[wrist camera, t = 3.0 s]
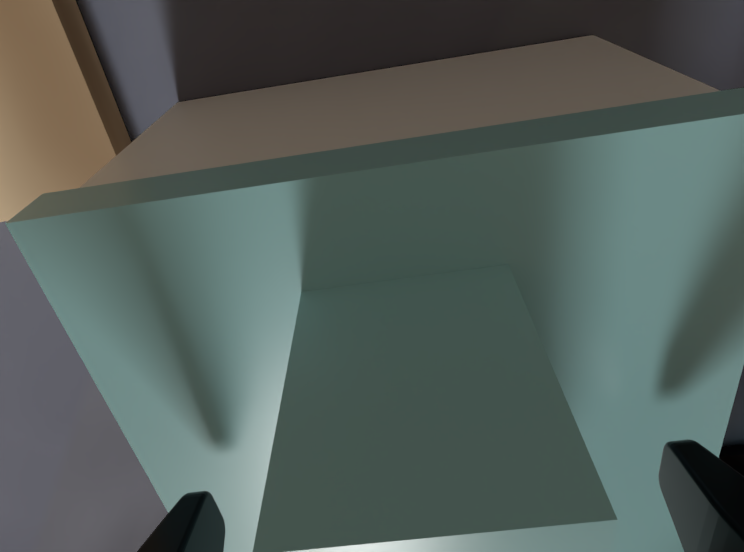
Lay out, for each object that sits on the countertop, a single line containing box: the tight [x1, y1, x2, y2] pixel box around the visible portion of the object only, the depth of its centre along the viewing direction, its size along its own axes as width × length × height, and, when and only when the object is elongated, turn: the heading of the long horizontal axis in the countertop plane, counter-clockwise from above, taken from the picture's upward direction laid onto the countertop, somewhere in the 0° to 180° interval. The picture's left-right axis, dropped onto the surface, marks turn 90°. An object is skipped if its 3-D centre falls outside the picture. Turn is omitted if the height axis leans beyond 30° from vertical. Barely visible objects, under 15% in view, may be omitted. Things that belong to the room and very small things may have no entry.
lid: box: [5, 87, 744, 552], centre depth 9 cm, size 10×10×6 cm
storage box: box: [80, 35, 720, 188], centre depth 13 cm, size 10×10×6 cm
